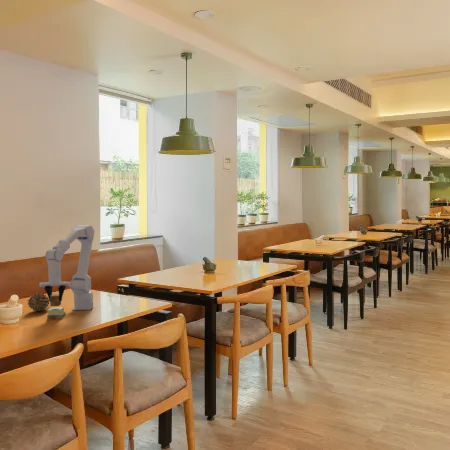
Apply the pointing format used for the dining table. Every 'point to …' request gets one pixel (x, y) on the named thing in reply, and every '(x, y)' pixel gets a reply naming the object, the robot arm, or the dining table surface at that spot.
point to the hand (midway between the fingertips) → (55, 301)
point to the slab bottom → (56, 316)
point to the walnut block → (54, 300)
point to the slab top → (55, 310)
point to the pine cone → (38, 302)
